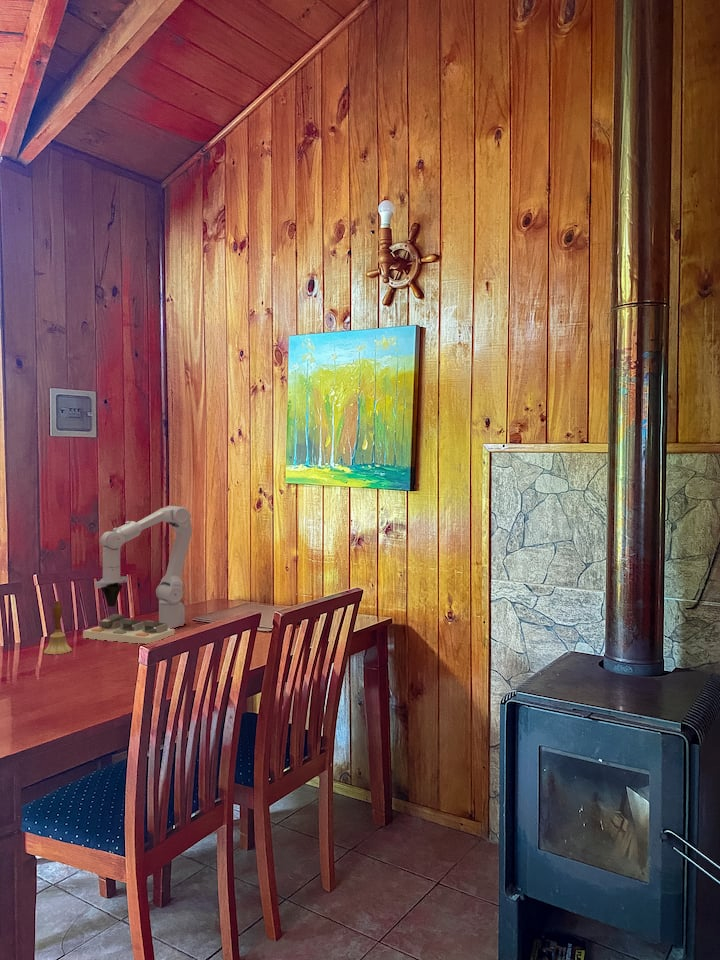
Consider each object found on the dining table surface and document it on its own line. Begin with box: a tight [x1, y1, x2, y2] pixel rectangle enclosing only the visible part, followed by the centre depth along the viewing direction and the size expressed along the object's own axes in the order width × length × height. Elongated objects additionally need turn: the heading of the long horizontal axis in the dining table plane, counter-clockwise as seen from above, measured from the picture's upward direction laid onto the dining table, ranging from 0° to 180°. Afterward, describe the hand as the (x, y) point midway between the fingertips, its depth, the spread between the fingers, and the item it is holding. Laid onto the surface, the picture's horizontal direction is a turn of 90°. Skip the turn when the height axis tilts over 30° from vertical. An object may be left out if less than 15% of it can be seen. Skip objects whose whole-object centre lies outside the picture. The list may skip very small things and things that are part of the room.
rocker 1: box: [98, 613, 125, 627], centre depth 253 cm, size 8×4×2 cm, turn 160°
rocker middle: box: [121, 617, 144, 625], centre depth 250 cm, size 8×4×2 cm, turn 160°
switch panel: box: [82, 619, 176, 645], centre depth 248 cm, size 14×27×5 cm, turn 70°
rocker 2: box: [142, 620, 166, 627], centre depth 247 cm, size 8×4×2 cm, turn 160°
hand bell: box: [43, 600, 73, 656], centre depth 228 cm, size 8×8×16 cm
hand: (111, 606), depth 249 cm, fingers closed
